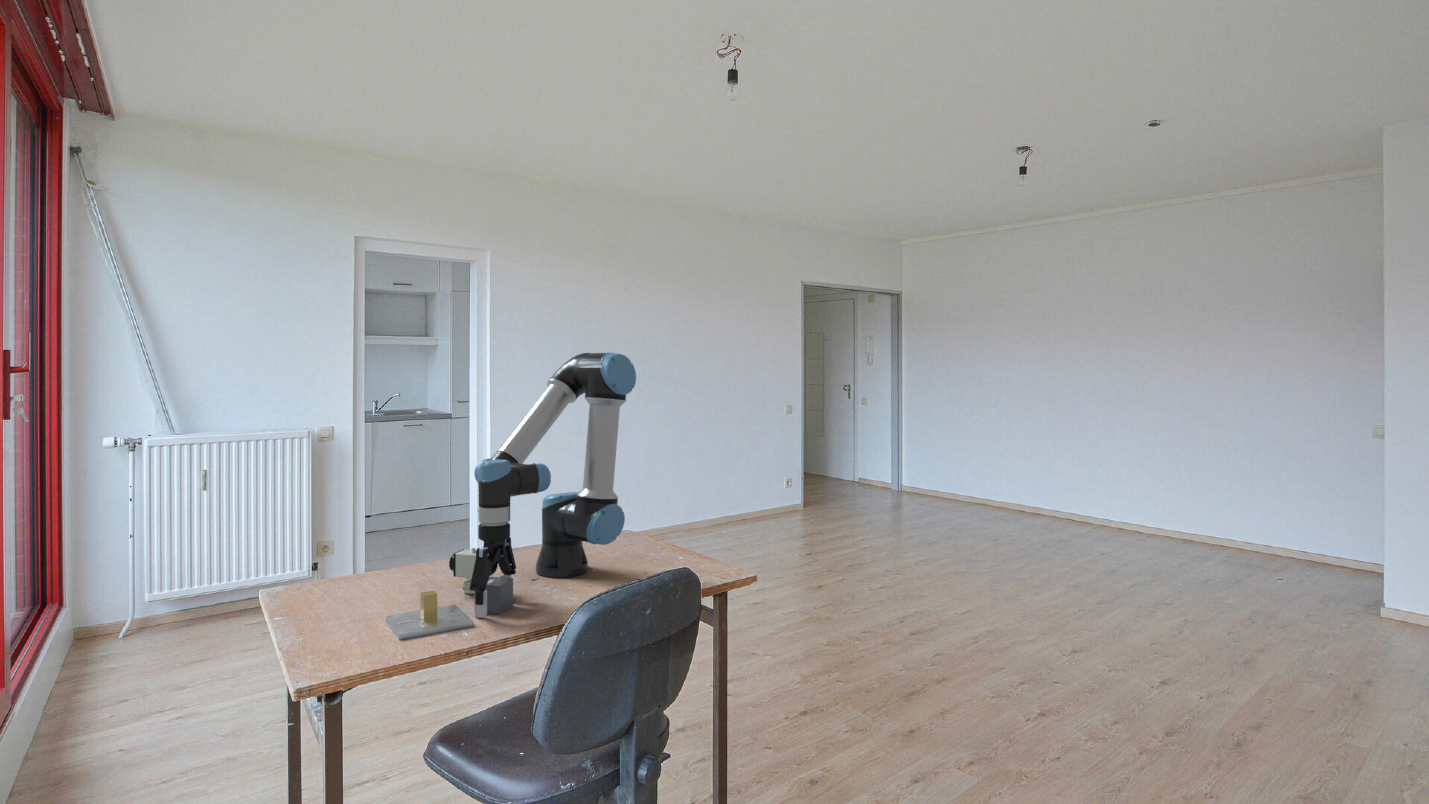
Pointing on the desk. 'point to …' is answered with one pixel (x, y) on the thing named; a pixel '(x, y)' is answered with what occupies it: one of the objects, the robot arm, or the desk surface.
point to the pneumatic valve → (466, 567)
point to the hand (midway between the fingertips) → (493, 608)
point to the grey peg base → (428, 619)
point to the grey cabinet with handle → (499, 595)
